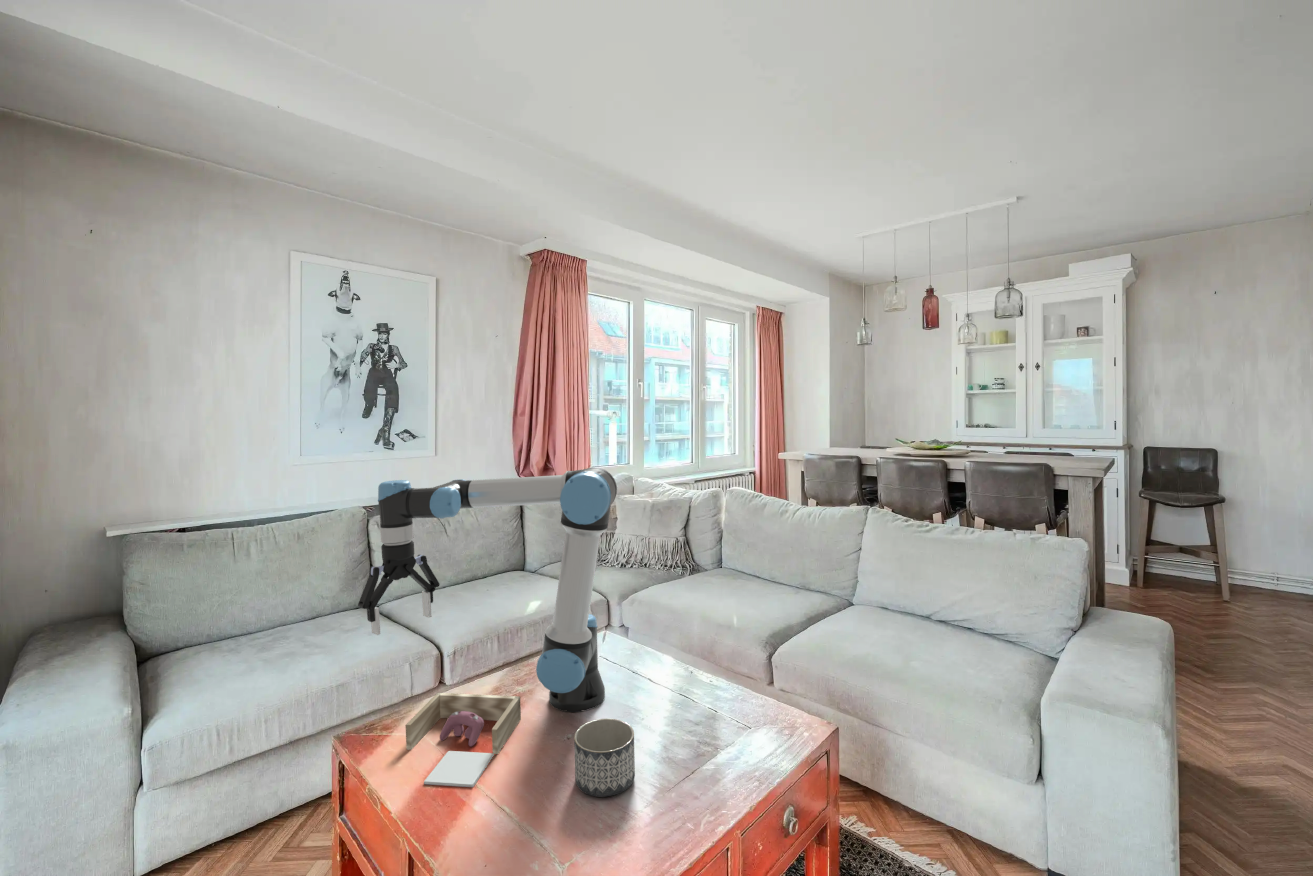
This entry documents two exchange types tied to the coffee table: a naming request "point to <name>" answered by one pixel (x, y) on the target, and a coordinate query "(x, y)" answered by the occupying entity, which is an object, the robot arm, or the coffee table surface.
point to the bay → (482, 705)
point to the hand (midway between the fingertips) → (402, 624)
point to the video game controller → (457, 724)
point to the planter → (604, 757)
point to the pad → (459, 769)
